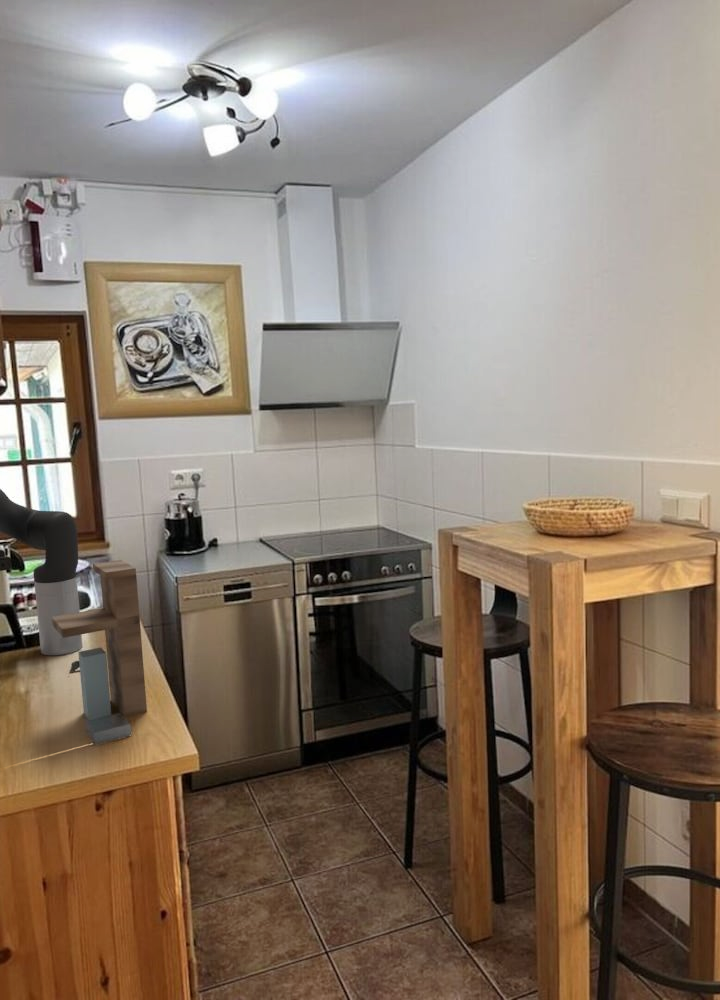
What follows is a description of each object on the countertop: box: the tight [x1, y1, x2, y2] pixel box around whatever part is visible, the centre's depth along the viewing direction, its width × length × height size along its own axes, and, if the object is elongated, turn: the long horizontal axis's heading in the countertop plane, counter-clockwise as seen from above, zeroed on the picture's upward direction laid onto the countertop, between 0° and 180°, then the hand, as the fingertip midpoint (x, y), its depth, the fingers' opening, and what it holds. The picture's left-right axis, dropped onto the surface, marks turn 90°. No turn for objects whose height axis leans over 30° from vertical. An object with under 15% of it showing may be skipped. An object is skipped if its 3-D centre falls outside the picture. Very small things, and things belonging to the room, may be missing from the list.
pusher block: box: [77, 647, 112, 721], centre depth 135 cm, size 4×4×12 cm
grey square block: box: [85, 712, 132, 746], centre depth 127 cm, size 6×6×2 cm
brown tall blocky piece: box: [51, 559, 148, 718], centre depth 135 cm, size 10×13×27 cm
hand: (7, 559), depth 131 cm, fingers open, 8 cm apart
